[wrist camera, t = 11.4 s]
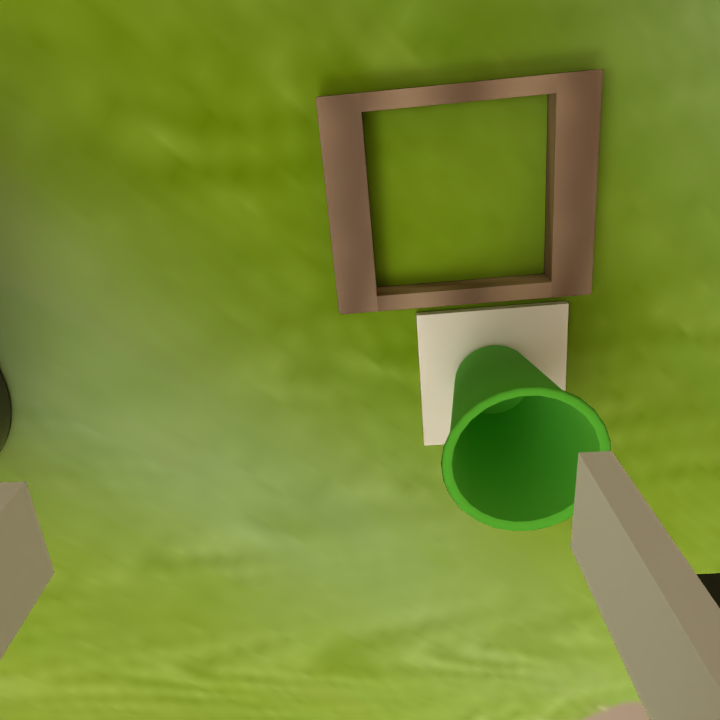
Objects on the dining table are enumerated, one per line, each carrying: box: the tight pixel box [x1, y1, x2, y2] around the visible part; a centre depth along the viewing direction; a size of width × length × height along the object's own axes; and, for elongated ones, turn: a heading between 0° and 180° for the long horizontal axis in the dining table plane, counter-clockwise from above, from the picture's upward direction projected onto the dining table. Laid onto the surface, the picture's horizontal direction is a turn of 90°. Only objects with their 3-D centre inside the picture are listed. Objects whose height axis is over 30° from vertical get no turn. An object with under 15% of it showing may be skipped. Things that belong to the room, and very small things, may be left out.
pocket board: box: [316, 69, 603, 314], centre depth 40 cm, size 16×13×2 cm
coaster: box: [416, 301, 569, 446], centre depth 45 cm, size 10×10×1 cm
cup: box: [441, 345, 611, 531], centre depth 40 cm, size 9×9×11 cm
